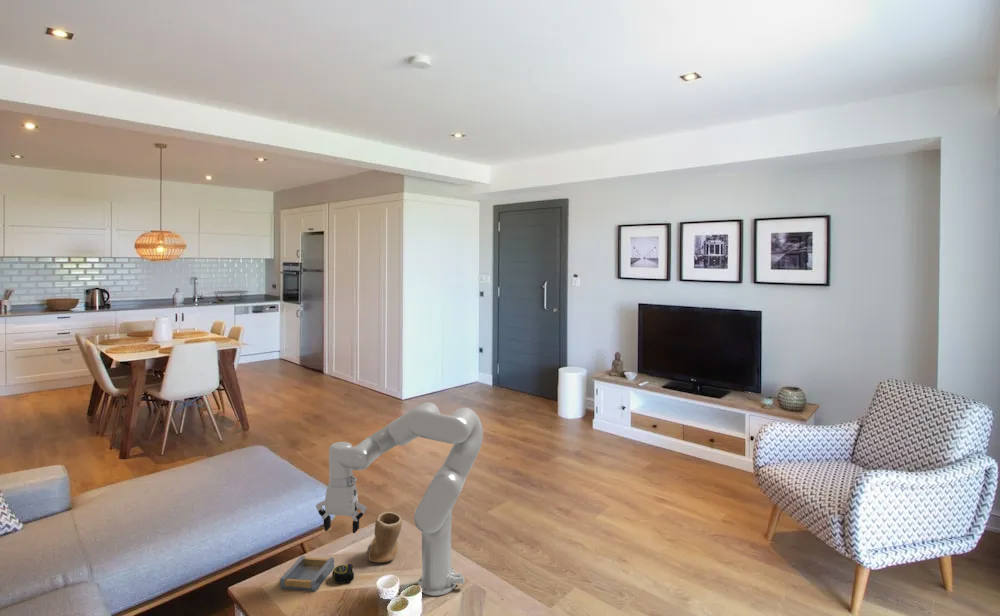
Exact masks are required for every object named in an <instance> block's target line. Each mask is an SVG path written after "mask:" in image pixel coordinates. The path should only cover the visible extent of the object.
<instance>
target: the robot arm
mask: <svg viewBox="0 0 1000 616" xmlns="http://www.w3.org/2000/svg"><path fill="white" fill-rule="evenodd" d="M418 437H419V438H422V439H427V440H431V441H436V442H441V443H447V444H452V447H451V448H450V450H449V453H448V454H447V456H446V459H445V460H444V462H443V463H442V465H441V466H440V468H439V469H438V470H437V471H436V473H435V474H434V476H433V478H432V480H431V482H430V483H429V485H428V487H427V488H426V490H425V492H424V495H423V496H422V498H421V500H420V502H419V504H418V506H417V508H416V509H415V512H414V516H413V520H414V524H415V527H416V528H417V530H419V531H420V533H421V569H422V570H421V577H419V579H418V581H417V585H418V584H419V585H420V586H421V588H422V591H423V593H422V594H424V595H426V596H427V595H428V596H431V597H432V596H433V597H434V596H435V597H437V596H443V595H446V594H448V593H450V592H452V591H453V590H454V589H455V587H456V586H457V584H460V585H461V584H465V577H464V576H463V573H461V572H460V573H456V572H454V571H455V570H454V568H455V567H452V518H453V507H454V506H455V504H456V502H457V500H458V498H459V496H460V494H461V491H462V490H463V488H464V485H465V482H466V479H467V477H468V475H469V473H470V472H471V469H472V467H473V465H474V463H475V461H476V459H477V457H478V455H479V453H480V451H481V448H482V444H483V437H484V430H483V425H482V421H481V419H480V417H479V416H478V414H477V413H476V412H475V411H474V410H472V409H471V408H469V407H459V408H457V409H455V410H454V411H453V412H452V413H451V414H450V415H448V414H443V413H441V411H440V409H439V408H438V406H437V405H436V404H435V403H433V402H430V401H429V402H428V401H427V402H422V403H421V404H419V405H417V406H415V407H414V408H412V409H410V410H408V411H407V412H406V413H404V414H403V415H401V416H399V417H398V418H396V419H395V420H392V421H391V422H389V423H388V424H387V425H386V426H384V427H383V428H381V429H380V430H378V431H376V432H374V433H373V434H371V435H370V436H368V437H367V438H365V439H363V440H362V441H361V442H360V443H358V444H357V445H355V446H353V445H352V443H351V442H347V441H337V442H334V443H332V444H331V445H329V448H328V479H329V480H328V481H329V482H328V484H327V485H326V491H325V498H324V499H325V500H322V501H320V502H318V503H317V504H316V505H315V508H316V510H317V511H318V514H319V515H320V517H321V519H322V520H323V528H324V532H328V531H329V530H330V528H331V527H332V524H331V523H332V522H331V520H332V519H331V517H332V515H333V516H344V517H345V516H347V517H351V519H352V520H353V521H352V533H353V534H356V532H358V530H359V529H360V519H361V518H363V516H364V515H365V513H366V511H367V509H368V507H367V506H366V505H365V504H362V503H361V502H359V498H358V497H359V496H358V490H357V484H356V482H357V481H358V478H357V477H355V476H354V472H353V471H354V470H355V471H364V470H366V469H367V468H369V466H370V465H371V464H373V462H374V461H375V460H376V459H378V458H379V457H380V456H382V455H383V454H385V453H386V452H388V451H389V450H391V449H393V448H394V447H397V446H400V447H403V446H405V445H407V444H408V443H410V442H412V441H413V440H415V439H417V438H418ZM323 507H324V508H323ZM357 510H360V512H359V511H357Z"/></svg>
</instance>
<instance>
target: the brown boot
mask: <svg viewBox="0 0 1000 616" xmlns="http://www.w3.org/2000/svg"><path fill="white" fill-rule="evenodd" d="M402 522H403V520H402V516H401V515H400V514H398V513H396V512H393V511H385V512H381V513H380V514H379V515H377V517H376V519H375V523H374V538H373V540H372V541H371V544H370V549H369V552H368V559H369V561H370V562H374V563H388V562H391V561H393V560H394V559H395V557H396V555H397V552H398V546H399V541H398V537H400V536H399V535H400V532H401V530H402V524H403V523H402Z"/></svg>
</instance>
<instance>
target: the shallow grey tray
mask: <svg viewBox="0 0 1000 616" xmlns="http://www.w3.org/2000/svg"><path fill="white" fill-rule="evenodd" d="M334 568H335V558H334V557H329V558H318V557H306V556H305V555H301V556H300V557H298V559H297V560H296V561H295V562H294V563H293V565H292V566H290V568H289V569H288V570H287V571H286V572H284V574H283V575H282V576H281V577H280V578H279V579H280V581H279V582H280V589H281V590H290V591H291V590H292V591H301V592H302V591H305V592H317V590H318V589H319V588H320V587H321V586H322V585H323V583H324V582H325V581H326V579H327V578H328V577H329V575H330V574H331V573H332V572H333V570H334Z"/></svg>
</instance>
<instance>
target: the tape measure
mask: <svg viewBox="0 0 1000 616" xmlns="http://www.w3.org/2000/svg"><path fill="white" fill-rule="evenodd" d="M353 569H354V565H353V564H352V563H348V564H340V565H337V566H335V567H334V569H333V570H332V572H331V573H332V575H331V576H332V580H333V581H334V582H335V583H337V584H344V583H349V582H351V581H353V580H354V579H355V577H354V576H355V575H354V571H353Z"/></svg>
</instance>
